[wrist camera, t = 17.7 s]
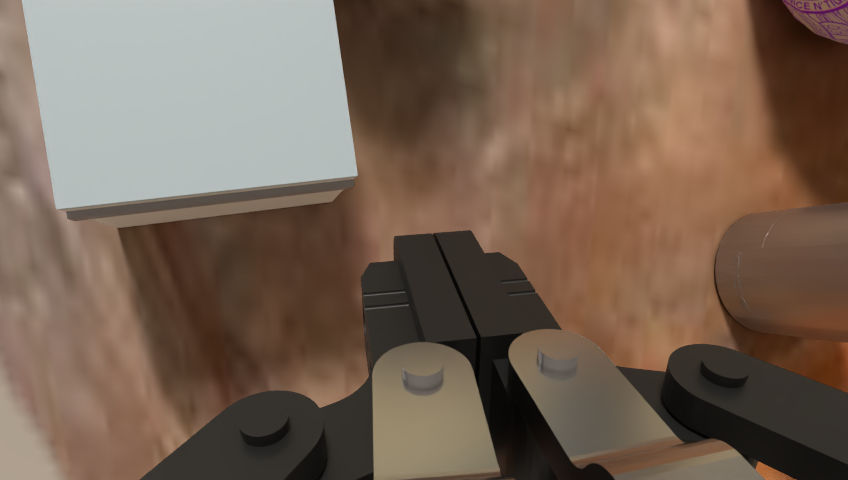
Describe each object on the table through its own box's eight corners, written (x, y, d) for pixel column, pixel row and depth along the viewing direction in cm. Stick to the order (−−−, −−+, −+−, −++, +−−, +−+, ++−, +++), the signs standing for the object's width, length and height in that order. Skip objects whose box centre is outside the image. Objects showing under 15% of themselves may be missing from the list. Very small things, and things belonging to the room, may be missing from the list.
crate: (305, 26, 35) (319, -56, 26) (332, 206, 35) (356, 183, 26) (88, 34, 32) (24, -58, 23) (117, 233, 31) (63, 217, 23)
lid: (321, -65, 26) (323, -72, 25) (355, 177, 26) (357, 175, 25) (15, -68, 22) (9, -76, 22) (61, 210, 23) (56, 209, 22)
